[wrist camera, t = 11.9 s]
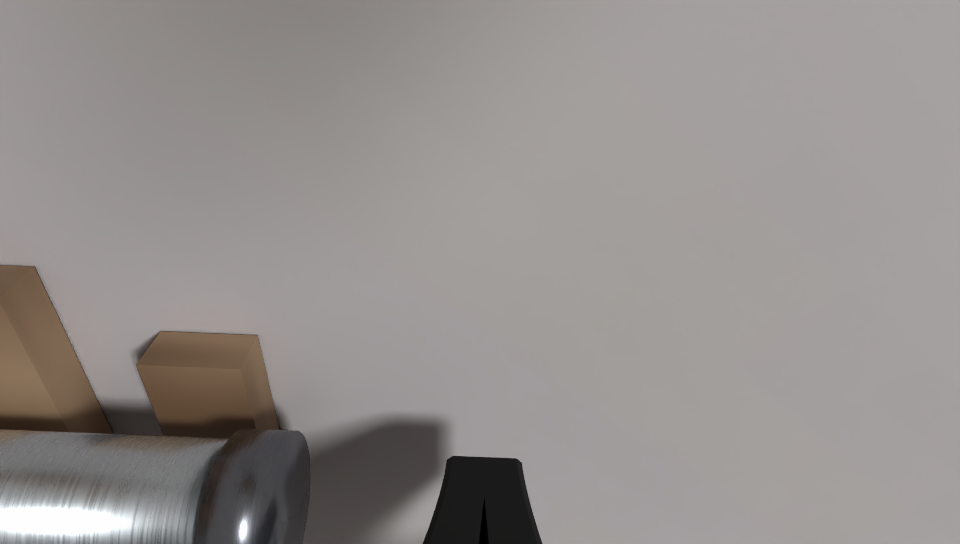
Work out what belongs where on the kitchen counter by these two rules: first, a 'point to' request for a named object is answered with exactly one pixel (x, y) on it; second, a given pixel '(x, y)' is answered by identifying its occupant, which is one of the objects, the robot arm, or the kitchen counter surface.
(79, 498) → the shaft
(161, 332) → the rig
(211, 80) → the kitchen counter surface
